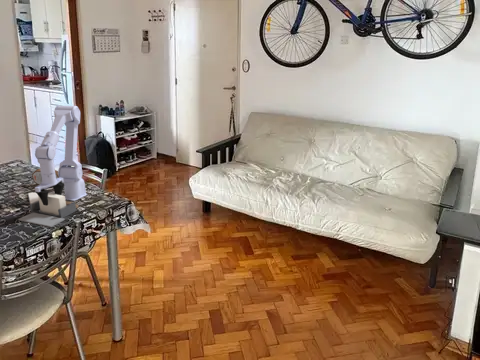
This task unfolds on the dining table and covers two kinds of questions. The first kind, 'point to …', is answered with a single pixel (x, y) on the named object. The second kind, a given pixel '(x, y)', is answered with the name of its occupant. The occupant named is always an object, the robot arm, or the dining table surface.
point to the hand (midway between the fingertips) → (52, 202)
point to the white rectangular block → (53, 203)
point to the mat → (41, 219)
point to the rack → (62, 211)
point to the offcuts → (70, 203)
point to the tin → (38, 178)
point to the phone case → (32, 197)
